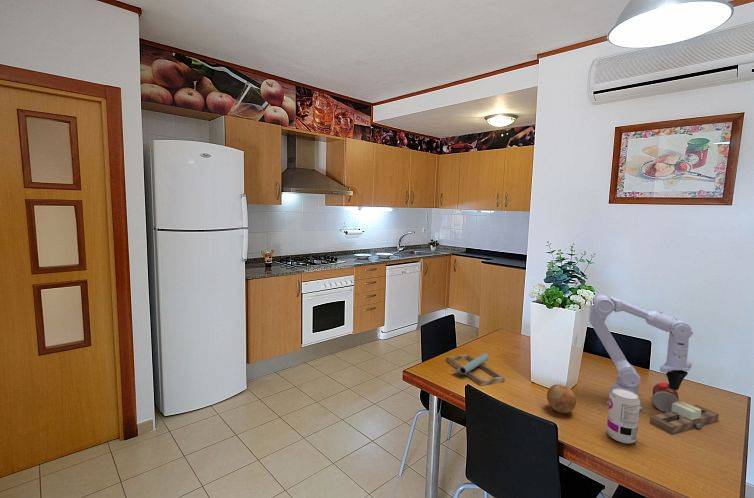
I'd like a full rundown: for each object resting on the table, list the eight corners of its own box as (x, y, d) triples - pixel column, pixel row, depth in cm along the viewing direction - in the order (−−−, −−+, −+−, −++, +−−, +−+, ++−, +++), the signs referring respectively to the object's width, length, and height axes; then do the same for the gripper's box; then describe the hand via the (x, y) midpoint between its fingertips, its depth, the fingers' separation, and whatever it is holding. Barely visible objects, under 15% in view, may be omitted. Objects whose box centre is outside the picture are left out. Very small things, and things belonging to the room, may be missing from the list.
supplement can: (603, 436, 121) (607, 393, 120) (610, 427, 127) (614, 385, 125) (633, 448, 115) (637, 402, 114) (638, 437, 121) (642, 394, 120)
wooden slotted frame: (675, 436, 122) (676, 429, 122) (645, 421, 131) (646, 414, 131) (722, 422, 131) (723, 416, 131) (691, 409, 140) (692, 403, 140)
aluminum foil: (465, 375, 160) (466, 368, 160) (452, 371, 165) (452, 363, 164) (488, 361, 177) (489, 354, 177) (476, 357, 181) (476, 350, 181)
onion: (575, 408, 138) (577, 383, 137) (574, 421, 130) (576, 394, 129) (547, 401, 143) (549, 377, 142) (544, 413, 135) (546, 387, 134)
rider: (691, 426, 127) (692, 411, 127) (670, 417, 133) (672, 402, 133) (699, 424, 129) (701, 408, 128) (679, 414, 135) (680, 400, 134)
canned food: (681, 400, 143) (682, 412, 134) (656, 401, 148) (656, 412, 139) (674, 381, 144) (675, 391, 135) (649, 382, 149) (649, 392, 140)
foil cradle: (480, 385, 155) (480, 381, 155) (446, 361, 181) (446, 357, 181) (504, 381, 159) (504, 377, 159) (467, 358, 185) (467, 354, 185)
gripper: (676, 359, 128) (673, 397, 129) (702, 354, 133) (698, 390, 134) (655, 352, 134) (652, 388, 135) (680, 348, 139) (677, 382, 140)
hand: (674, 388), depth 135 cm, fingers closed
